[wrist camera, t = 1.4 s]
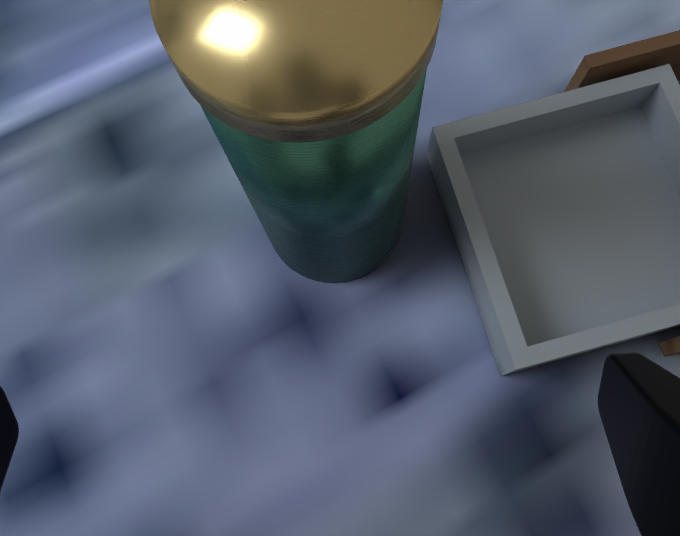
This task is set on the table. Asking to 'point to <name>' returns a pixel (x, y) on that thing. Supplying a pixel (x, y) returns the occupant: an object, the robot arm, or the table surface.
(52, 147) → the table surface
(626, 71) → the walnut stand
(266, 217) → the tea tin
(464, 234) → the tray
